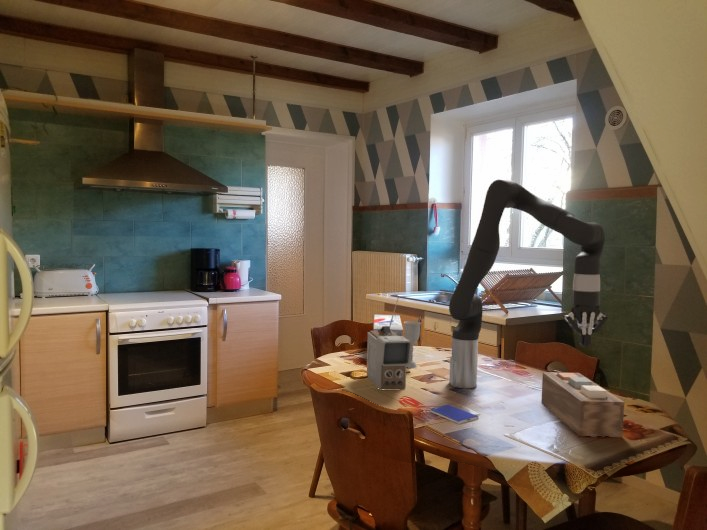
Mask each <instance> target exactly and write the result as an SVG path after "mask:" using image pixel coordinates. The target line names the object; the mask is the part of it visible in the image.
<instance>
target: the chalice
mask: <svg viewBox="0 0 707 530" xmlns="http://www.w3.org/2000/svg"><path fill="white" fill-rule="evenodd" d="M403 324H404V332H403V335H404V338H406V339H407V340H409V341H410V342H411V343H412V347H411V357H410V363H409V365H407V366H406V367H408V368H407V369H416V367H417V368H418V365H417V363H416V361H415V360H414V359H413V357H414V353H413V352H414V346H416V344H417V342H418V340H419V338H420V335H421V325H422V322H420V321H413V320H412V321H411V320H409V321H403Z"/></svg>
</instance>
